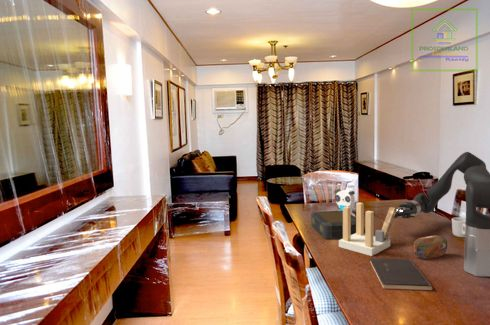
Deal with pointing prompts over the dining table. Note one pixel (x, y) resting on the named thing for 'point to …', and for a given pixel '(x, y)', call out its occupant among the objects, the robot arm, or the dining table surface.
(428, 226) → the dining table surface
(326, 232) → the cash box
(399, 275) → the hardcover book
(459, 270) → the dining table surface
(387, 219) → the leg
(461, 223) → the cup
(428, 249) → the tin
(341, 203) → the panda figurine
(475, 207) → the robot arm
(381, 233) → the stool
